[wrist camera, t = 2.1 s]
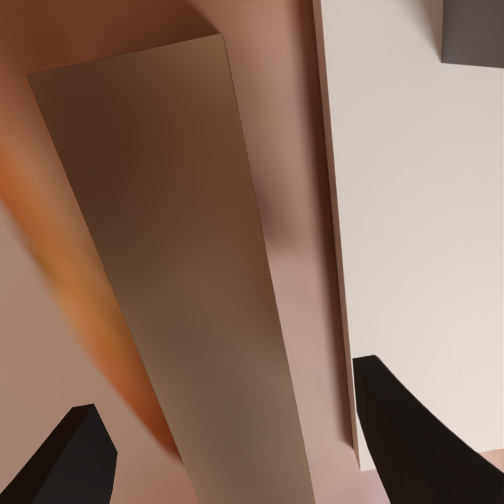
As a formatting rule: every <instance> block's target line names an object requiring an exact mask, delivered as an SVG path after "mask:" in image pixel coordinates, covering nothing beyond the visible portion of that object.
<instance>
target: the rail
mask: <svg viewBox="0 0 504 504" xmlns="http://www.w3.org/2000/svg"><path fill="white" fill-rule="evenodd" d="M26 76H27V79H28V81H29V84H30V86H31V89H32V91H33V93H34V96H35V98H36V101H37V103H38V106H39V108H40V111H41V113H42V116H43V118H44V121H45V123H46V126H47V128H48V130H49V133H50V135H51V138H52V140H53V143H54V145H55V148H56V150H57V153H58V155H59V158H60V160H61V162H62V165H63V167H64V170H65V172H66V175H67V177H68V180H69V182H70V185H71V187H72V190H73V192H74V194H75V197H76V199H77V202H78V204H79V207H80V209H81V212H82V214H83V217H84V219H85V222H86V224H87V226H88V229H89V231H90V234H91V236H92V239H93V241H94V244H95V246H96V249H97V251H98V254H99V256H100V258H101V261H102V263H103V266H104V268H105V271H106V273H107V276H108V278H109V281H110V283H111V286H112V288H113V291H114V293H115V295H116V298H117V300H118V303H119V305H120V308H121V310H122V313H123V315H124V318H125V320H126V323H127V325H128V327H129V330H130V332H131V335H132V337H133V340H134V342H135V345H136V347H137V350H138V352H139V355H140V357H141V359H142V362H143V364H144V367H145V369H146V372H147V374H148V377H149V379H150V382H151V384H152V387H153V389H154V391H155V394H156V396H157V399H158V401H159V404H160V406H161V409H162V411H163V414H164V416H165V419H166V421H167V423H168V426H169V428H170V431H171V433H172V436H173V438H174V441H175V443H176V446H177V448H178V451H179V453H180V456H181V458H182V460H183V463H184V465H185V468H186V470H187V473H188V475H189V478H190V480H191V482H192V485H193V487H194V490H195V492H196V495H197V497H198V500H199V502H200V504H315V498H314V493H313V488H312V483H311V477H310V472H309V467H308V462H307V457H306V452H305V447H304V442H303V437H302V432H301V426H300V421H299V416H298V411H297V406H296V401H295V396H294V391H293V386H292V381H291V376H290V370H289V365H288V360H287V355H286V350H285V345H284V340H283V335H282V330H281V325H280V320H279V314H278V309H277V304H276V299H275V294H274V289H273V284H272V279H271V274H270V269H269V264H268V258H267V253H266V248H265V243H264V238H263V233H262V228H261V223H260V218H259V213H258V208H257V203H256V197H255V192H254V187H253V182H252V177H251V172H250V167H249V162H248V157H247V152H246V147H245V141H244V136H243V131H242V126H241V121H240V116H239V111H238V106H237V101H236V96H235V91H234V85H233V80H232V75H231V70H230V65H229V60H228V55H227V50H226V45H225V40H224V36H223V34H222V33H220V34H215V35H211V36H206V37H201V38H197V39H192V40H187V41H183V42H178V43H174V44H169V45H164V46H160V47H155V48H150V49H146V50H141V51H136V52H132V53H127V54H122V55H118V56H113V57H109V58H104V59H99V60H95V61H90V62H85V63H81V64H76V65H71V66H67V67H62V68H57V69H53V70H48V71H44V72H39V73H34V74H30V75H26Z"/></svg>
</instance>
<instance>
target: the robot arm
mask: <svg viewBox="0 0 504 504" xmlns="http://www.w3.org/2000/svg"><path fill="white" fill-rule="evenodd" d="M352 362H353V374H354V386H355V398H356V411H357V415H358V418H359V421H360V425H361V428H362V431H363V435H364V438H365V441H366V444H367V447H368V450H369V453H370V455H371V457H372V460H373V462H374V465H375V467H376V469H377V472H378V474H379V477H380V479H381V481H382V484H383V486H384V488H385V491H386V493H387V496H388V498H389V500H390V503H391V504H504V473H503V472H501V471H500V470H499V469H498V468H496V467H495V466H494V465H492V464H491V463H490V462H488V461H487V460H486V459H485V458H483V457H482V456H481V455H480V454H478V453H477V452H476V451H475V450H473V449H472V448H471V447H470V446H469V445H467V444H466V443H465V442H464V441H463V440H461V439H460V438H459V437H458V436H457V435H456V434H455V433H453V432H452V431H451V430H450V429H449V428H448V427H447V426H445V425H444V424H443V423H442V422H441V421H440V420H439V419H438V418H437V417H436V416H435V415H433V414H432V413H431V412H430V411H429V410H428V409H427V408H426V407H425V406H424V405H423V404H422V403H421V402H420V401H419V400H418V399H417V398H416V397H415V396H414V395H413V394H412V393H411V392H410V391H409V390H408V389H407V388H406V387H405V386H404V385H403V384H402V383H401V382H400V381H399V380H398V379H397V378H396V376H395V375H394V374H393V373H392V372H391V371H390V370H389V369H388V368H387V366H386V365H385V364H384V363H383V362H382V361H381V359H380V358H379V357H377V356H376V355H369V356H364V357H358V358H352ZM117 453H118V452H117V450H116V448H115V446H114V444H113V442H112V440H111V438H110V436H109V434H108V432H107V430H106V428H105V426H104V424H103V422H102V420H101V418H100V415H99V414H98V412H97V409H96V407H95V405H94V404H89V405H83V406H77V407H72V408H71V410H70V411H69V412H68V413H67V414H66V415H65V417H64V418H63V419H62V420H61V422H60V423H59V424H58V425H57V426H56V428H55V429H54V430H53V431H52V433H51V434H50V435H49V436H48V438H47V439H46V440H45V441H44V443H43V444H42V445H41V446H40V447H39V449H38V450H37V451H36V452H35V454H34V455H33V456H32V457H31V459H30V460H29V461H28V462H27V463H26V464H25V466H24V467H23V468H22V469H21V471H20V472H19V473H18V474H17V475H16V477H15V478H14V479H13V480H12V482H11V483H10V484H9V485H8V486H7V487H6V488H5V489H4V490H3V492H2V493H1V494H0V504H109V502H110V498H111V494H112V490H113V483H114V477H115V469H116V461H117Z"/></svg>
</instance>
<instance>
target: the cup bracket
mask: <svg viewBox="0 0 504 504" xmlns="http://www.w3.org/2000/svg"><path fill="white" fill-rule="evenodd" d="M313 11H314V22H315V33H316V44H317V55H318V66H319V76H320V87H321V98H322V109H323V120H324V131H325V142H326V152H327V163H328V174H329V185H330V196H331V207H332V218H333V228H334V239H335V250H336V261H337V272H338V283H339V294H340V304H341V315H342V326H343V337H344V348H345V359H346V370H347V380H348V391H349V402H350V413H351V424H352V435H353V446H354V453H355V456H356V459H357V462H358V465H359V469H360V472H361V471H367V470H373V469H376V467H375V465H374V462H373V460H372V457H371V455H370V453H369V450H368V447H367V444H366V441H365V438H364V435H363V431H362V428H361V425H360V421H359V418H358V415H357V411H356V398H355V386H354V374H353V362H352V358H358V357H364V356H369V355H376V356H377V357H379V358H380V359H381V361H382V362H383V363H384V364H385V365H386V366H387V368H388V369H389V370H390V371H391V372H392V373H393V374H394V375H395V376H396V378H397V379H398V380H399V381H400V382H401V383H402V384H403V385H404V386H405V387H406V388H407V389H408V390H409V391H410V392H411V393H412V394H413V395H414V396H415V397H416V398H417V399H418V400H419V401H420V402H421V403H422V404H423V405H424V406H425V407H426V408H427V409H428V410H429V411H430V412H431V413H432V414H433V415H435V416H436V417H437V418H438V419H439V420H440V421H441V422H442V423H443V424H444V425H445V426H447V427H448V428H449V429H450V430H451V431H452V432H453V433H455V434H456V435H457V436H458V437H459V438H460V439H461V440H463V441H464V442H465V443H466V444H467V445H469V446H470V447H471V448H472V449H473V450H475V451H476V452H477V453H478V452H484V451H490V450H496V449H502V448H504V0H313Z"/></svg>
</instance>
